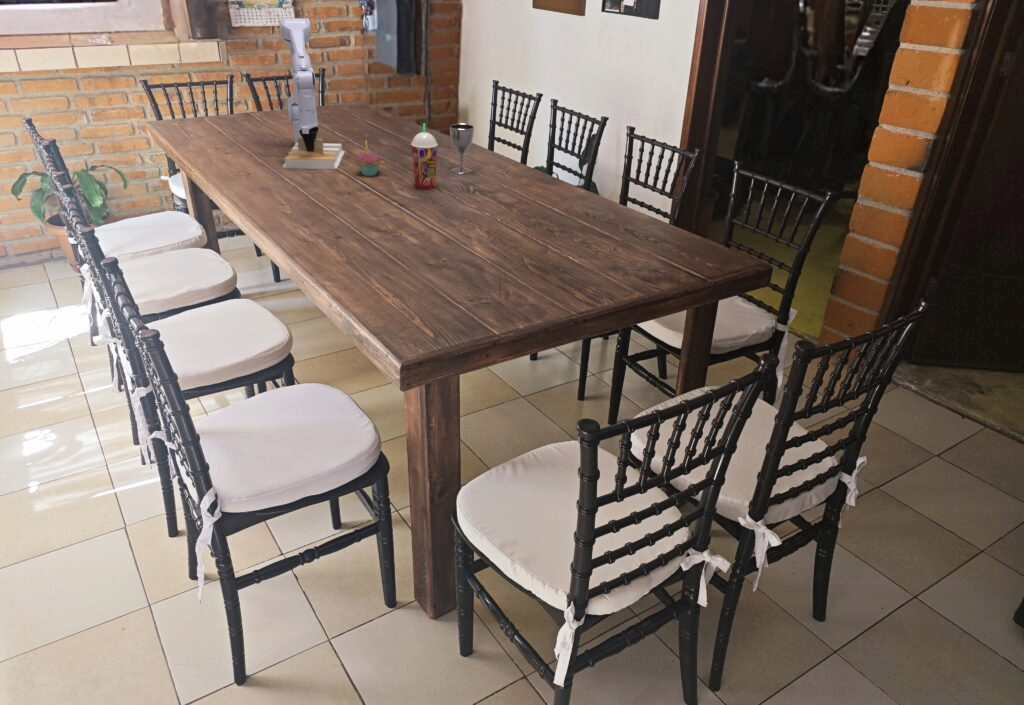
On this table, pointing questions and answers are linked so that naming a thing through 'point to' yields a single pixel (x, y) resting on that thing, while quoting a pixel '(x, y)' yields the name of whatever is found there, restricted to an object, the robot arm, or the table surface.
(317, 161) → the rack
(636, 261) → the table surface
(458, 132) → the wine glass
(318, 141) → the block
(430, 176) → the smoothie
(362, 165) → the cupcake
